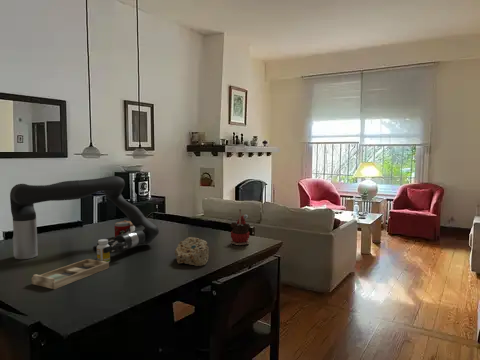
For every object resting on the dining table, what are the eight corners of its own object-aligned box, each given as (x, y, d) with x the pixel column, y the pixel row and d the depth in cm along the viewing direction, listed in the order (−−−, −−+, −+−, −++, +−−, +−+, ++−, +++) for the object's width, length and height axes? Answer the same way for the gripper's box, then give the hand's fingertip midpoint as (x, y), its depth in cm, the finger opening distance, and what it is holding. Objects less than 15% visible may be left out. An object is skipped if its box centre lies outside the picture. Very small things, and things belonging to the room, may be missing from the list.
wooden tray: (31, 284, 138) (31, 274, 138) (87, 264, 162) (87, 256, 162) (54, 289, 133) (54, 279, 133) (109, 267, 157) (108, 259, 156)
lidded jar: (138, 234, 216) (137, 218, 215) (131, 239, 205) (130, 222, 204) (120, 234, 217) (119, 218, 216) (112, 238, 206) (111, 221, 205)
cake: (226, 244, 195) (226, 209, 193) (235, 240, 203) (235, 207, 201) (245, 247, 190) (245, 211, 188) (253, 242, 198) (253, 208, 196)
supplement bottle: (111, 260, 167) (111, 238, 167) (108, 263, 162) (107, 241, 161) (99, 260, 167) (98, 238, 166) (95, 264, 162) (94, 241, 161)
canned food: (114, 247, 189) (114, 225, 188) (115, 243, 196) (114, 222, 195) (130, 246, 191) (130, 224, 190) (130, 242, 198) (130, 221, 197)
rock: (211, 267, 160) (206, 246, 158) (178, 276, 159) (172, 255, 157) (210, 249, 180) (205, 230, 178) (180, 257, 179) (175, 237, 177)
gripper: (114, 231, 180) (86, 239, 165) (138, 234, 174) (111, 243, 158) (114, 247, 180) (86, 256, 165) (138, 250, 174) (111, 260, 159)
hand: (98, 249), depth 162 cm, fingers closed on supplement bottle, 5 cm apart
